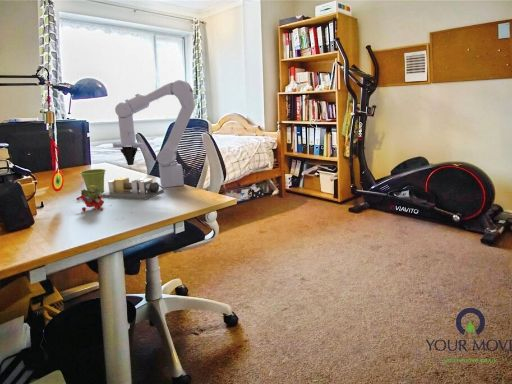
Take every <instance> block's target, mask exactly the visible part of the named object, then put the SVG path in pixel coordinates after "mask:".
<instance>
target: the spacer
mask: <svg viewBox="0 0 512 384" xmlns="http://www.w3.org/2000/svg"><path fill="white" fill-rule="evenodd" d="M113 180H114V186H115V192H122V193H124V192H127V191H130V190H126V189H125V188H124V184H125V183H126V182H128V183H130V178H129V177H119V178H115V179H113Z"/></svg>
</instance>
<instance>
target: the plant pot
mask: <svg viewBox="0 0 512 384" xmlns="http://www.w3.org/2000/svg"><path fill="white" fill-rule="evenodd" d="M79 173H80V175H81V176H82V178H83V181H84V185H85V188H86V190H88V187H89V186H91V185H95V186H97V187H98V188H99V191H100V193H101V194H102V192H104V191H105V175H106V169H105V168H95V169H93V168H92V169H87V170H82V171H80V172H79Z"/></svg>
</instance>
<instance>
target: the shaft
mask: <svg viewBox="0 0 512 384" xmlns="http://www.w3.org/2000/svg"><path fill="white" fill-rule="evenodd" d="M138 187H139V183H138ZM124 188H125V189H126V190H132V183H131V182H129V183H128V182H126V183H125V184H124ZM159 189H160V186H159V183H158V181H157V182H155V181H152V183H151V184H149V183H146V191H151V192H152V193H157V192H158V190H159ZM139 190H140V189H139Z"/></svg>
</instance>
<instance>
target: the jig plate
mask: <svg viewBox="0 0 512 384" xmlns="http://www.w3.org/2000/svg"><path fill="white" fill-rule="evenodd" d="M164 191H165V190H164V188H159V190H158V192H157V193H152V192H151V191H146V194H140V190H139V194H133V192H132V190H130V191H127V192H124V193H122V192H114V193H110V192H109V191H108V192H105V193H103V194H102V193H101V194H102V198H111V199H112V198H113V199H128V200H142V201H143V200H144V201H145V200H147V199H150V198H153V197H155V196H157V195H159V194H162V193H164Z"/></svg>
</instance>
